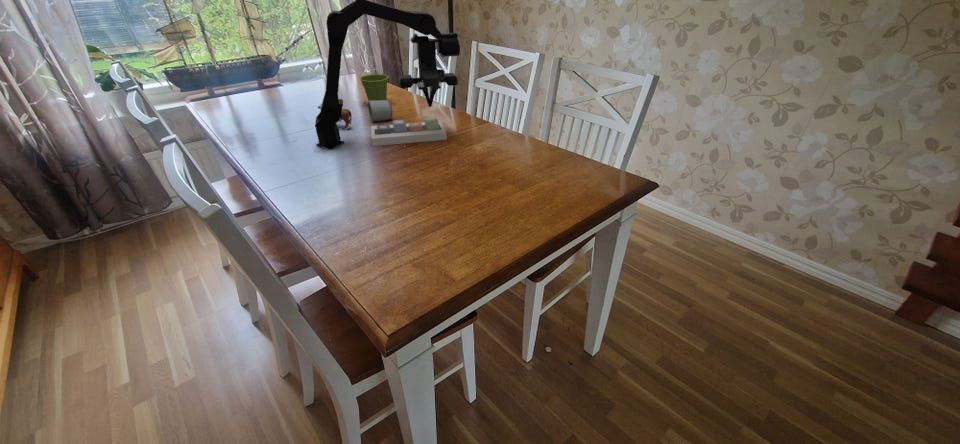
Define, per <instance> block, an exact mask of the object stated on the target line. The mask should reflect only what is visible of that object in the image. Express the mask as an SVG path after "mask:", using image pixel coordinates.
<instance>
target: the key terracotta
mask: <svg viewBox="0 0 960 444" xmlns="http://www.w3.org/2000/svg"><path fill="white" fill-rule="evenodd" d="M421 122H422V121H419V122H418V121H417V122H416V121H415V122H409V128H410V132H417V131H423V126H422V124H421Z"/></svg>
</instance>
